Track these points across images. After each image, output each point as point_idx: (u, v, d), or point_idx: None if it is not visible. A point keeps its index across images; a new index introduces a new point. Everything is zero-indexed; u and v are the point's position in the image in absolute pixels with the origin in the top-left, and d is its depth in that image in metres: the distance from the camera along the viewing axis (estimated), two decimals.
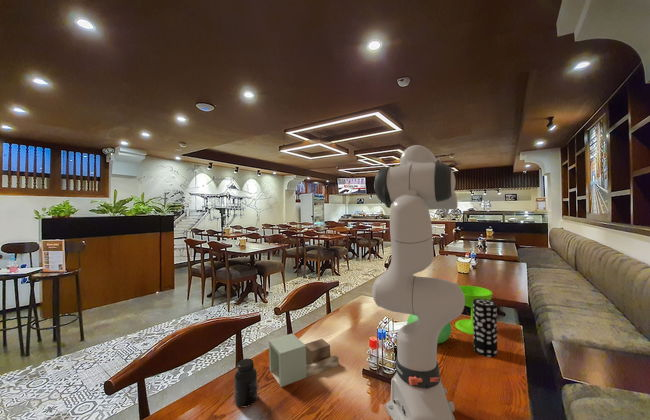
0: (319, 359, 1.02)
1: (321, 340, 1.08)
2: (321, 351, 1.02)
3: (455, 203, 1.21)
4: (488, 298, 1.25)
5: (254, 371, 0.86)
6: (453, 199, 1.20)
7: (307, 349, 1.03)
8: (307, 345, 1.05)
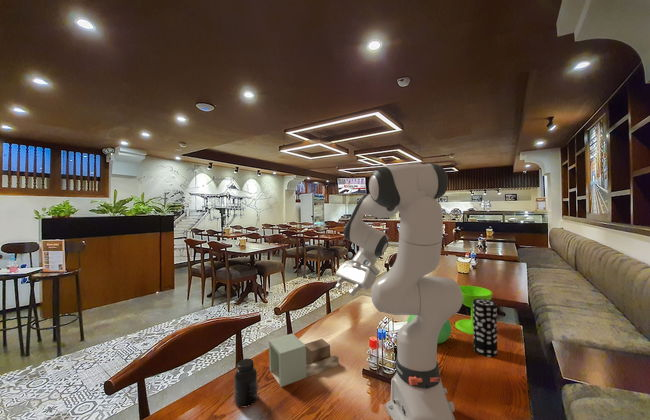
0: (319, 359, 1.02)
1: (321, 340, 1.08)
2: (321, 351, 1.02)
3: (366, 277, 1.05)
4: (488, 298, 1.25)
5: (254, 371, 0.86)
6: (367, 272, 1.07)
7: (307, 349, 1.03)
8: (307, 345, 1.05)
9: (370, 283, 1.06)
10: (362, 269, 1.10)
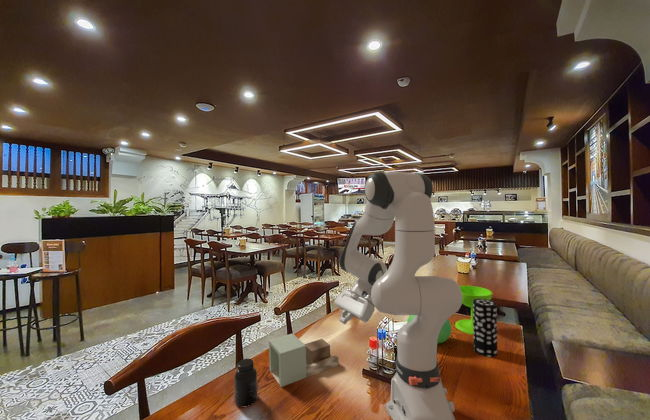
0: (319, 359, 1.02)
1: (321, 340, 1.08)
2: (321, 351, 1.02)
3: (364, 310, 1.05)
4: (488, 298, 1.25)
5: (254, 371, 0.86)
6: (366, 304, 1.06)
7: (307, 349, 1.03)
8: (307, 345, 1.05)
9: (368, 316, 1.05)
10: (360, 300, 1.10)
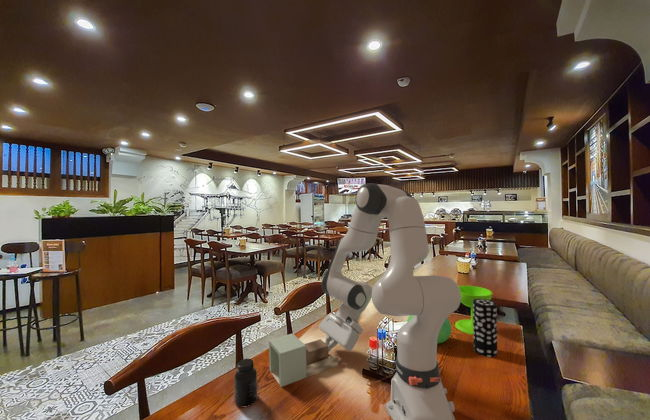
0: (317, 360, 1.02)
1: (319, 341, 1.08)
2: (319, 351, 1.02)
3: (348, 338, 1.01)
4: (488, 298, 1.25)
5: (254, 371, 0.86)
6: (349, 331, 1.02)
7: None
8: None
9: (352, 344, 1.01)
10: (345, 327, 1.06)
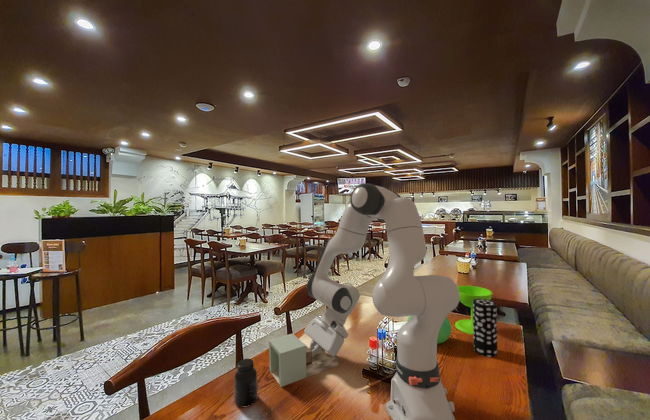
0: None
1: None
2: None
3: (332, 343, 0.97)
4: (488, 298, 1.25)
5: (254, 371, 0.86)
6: (334, 336, 0.99)
7: None
8: None
9: (336, 349, 0.98)
10: (329, 331, 1.02)
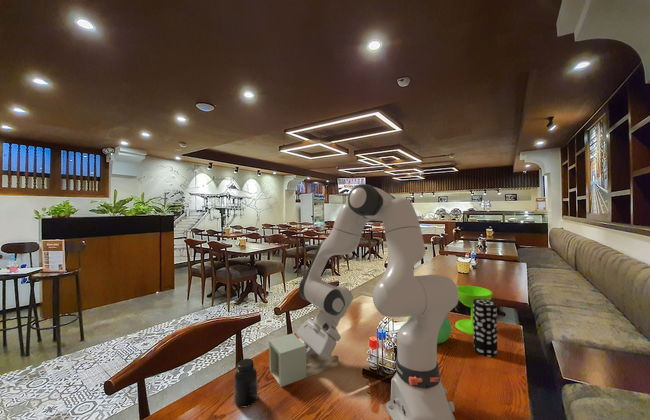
0: None
1: None
2: None
3: (324, 346, 0.96)
4: (488, 298, 1.25)
5: (254, 371, 0.86)
6: (326, 339, 0.97)
7: None
8: None
9: (328, 352, 0.96)
10: (321, 334, 1.00)
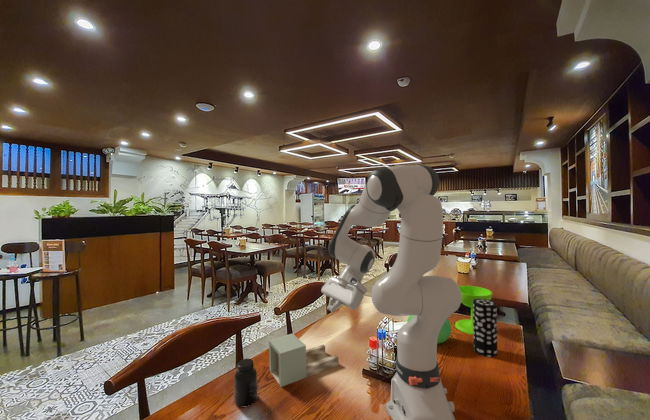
0: None
1: None
2: None
3: (353, 297, 1.02)
4: (488, 298, 1.25)
5: (254, 371, 0.86)
6: (355, 291, 1.03)
7: None
8: None
9: (357, 303, 1.02)
10: (349, 288, 1.06)
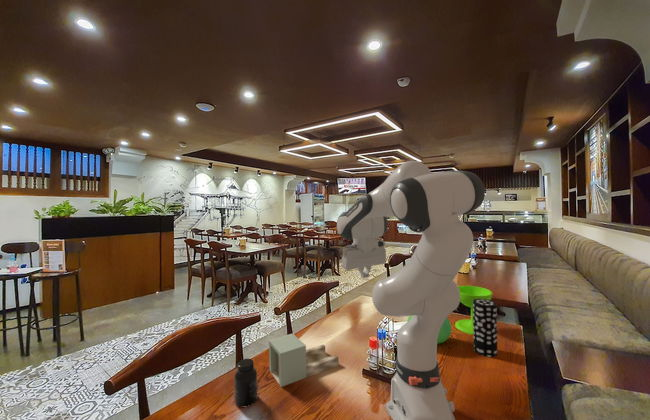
0: None
1: None
2: None
3: (385, 255, 1.14)
4: (488, 298, 1.25)
5: (254, 371, 0.86)
6: (384, 250, 1.13)
7: None
8: None
9: None
10: (377, 250, 1.11)
